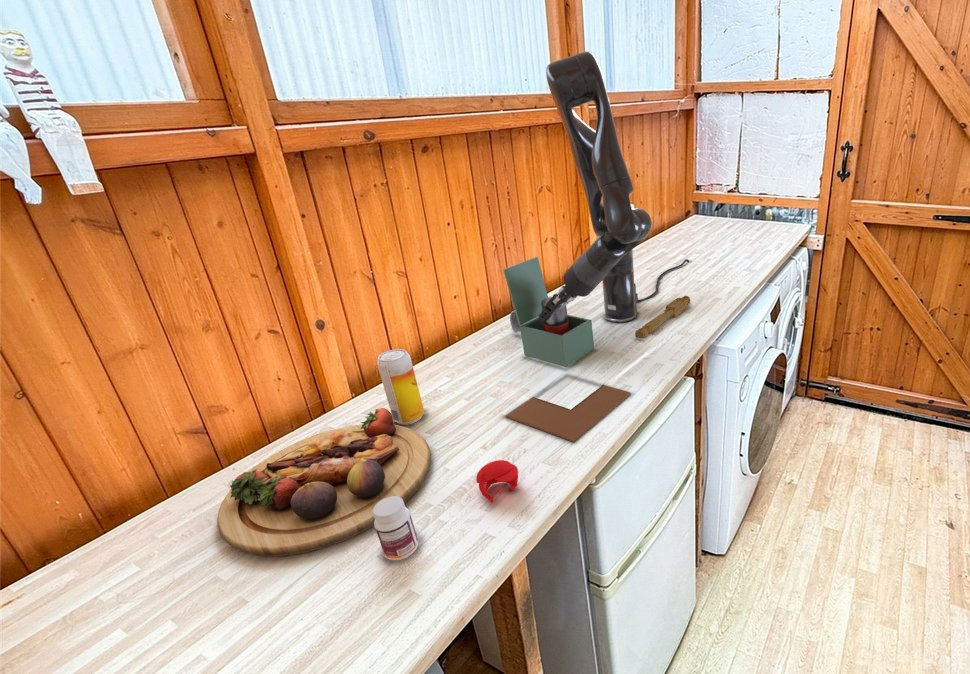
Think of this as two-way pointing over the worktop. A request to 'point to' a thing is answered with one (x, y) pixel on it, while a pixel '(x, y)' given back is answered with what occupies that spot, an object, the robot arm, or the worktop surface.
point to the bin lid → (526, 289)
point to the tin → (556, 320)
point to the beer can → (400, 386)
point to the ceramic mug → (516, 322)
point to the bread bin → (558, 341)
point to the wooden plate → (323, 487)
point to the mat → (568, 413)
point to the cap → (496, 476)
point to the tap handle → (664, 316)
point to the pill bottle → (395, 528)
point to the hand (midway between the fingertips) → (549, 313)
